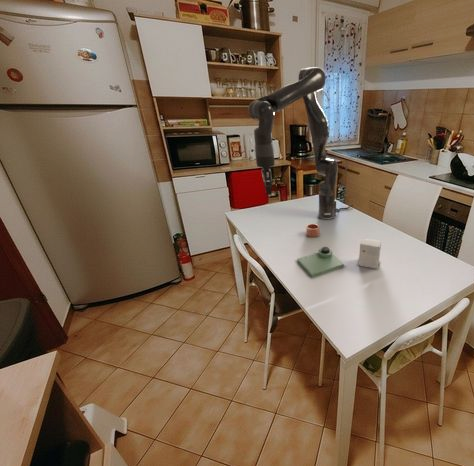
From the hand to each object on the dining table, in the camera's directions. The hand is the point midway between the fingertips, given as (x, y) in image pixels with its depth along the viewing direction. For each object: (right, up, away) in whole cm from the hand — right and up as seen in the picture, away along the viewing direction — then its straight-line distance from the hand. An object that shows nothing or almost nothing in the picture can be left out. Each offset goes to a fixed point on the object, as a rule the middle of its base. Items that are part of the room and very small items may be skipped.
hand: (268, 191), depth 117 cm
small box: (+44, -32, -6) cm, 55 cm away
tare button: (+26, -27, -3) cm, 37 cm away
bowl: (+20, -19, +17) cm, 32 cm away
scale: (+23, -32, -6) cm, 40 cm away
